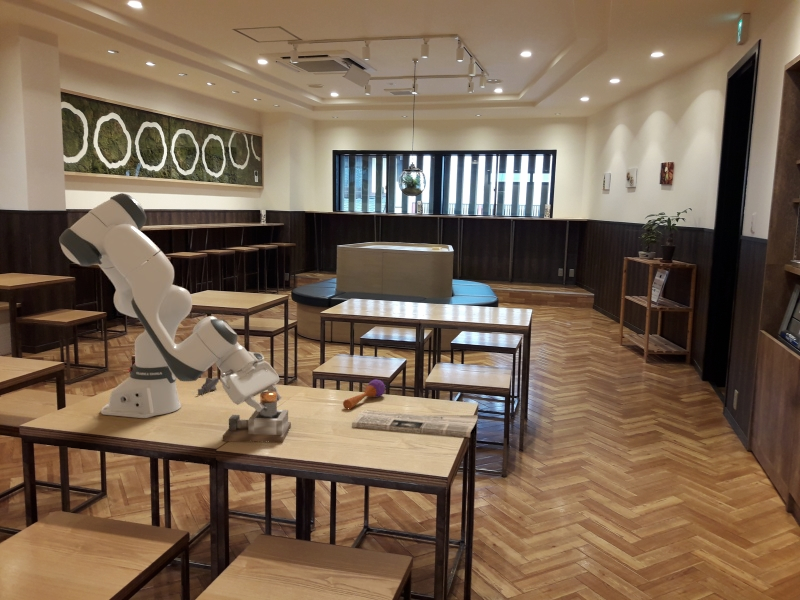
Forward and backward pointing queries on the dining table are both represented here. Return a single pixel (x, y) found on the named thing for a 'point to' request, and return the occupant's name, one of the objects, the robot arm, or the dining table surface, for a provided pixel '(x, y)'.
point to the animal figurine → (208, 385)
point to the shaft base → (258, 428)
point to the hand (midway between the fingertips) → (270, 404)
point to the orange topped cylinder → (269, 404)
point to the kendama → (366, 393)
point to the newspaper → (417, 423)
